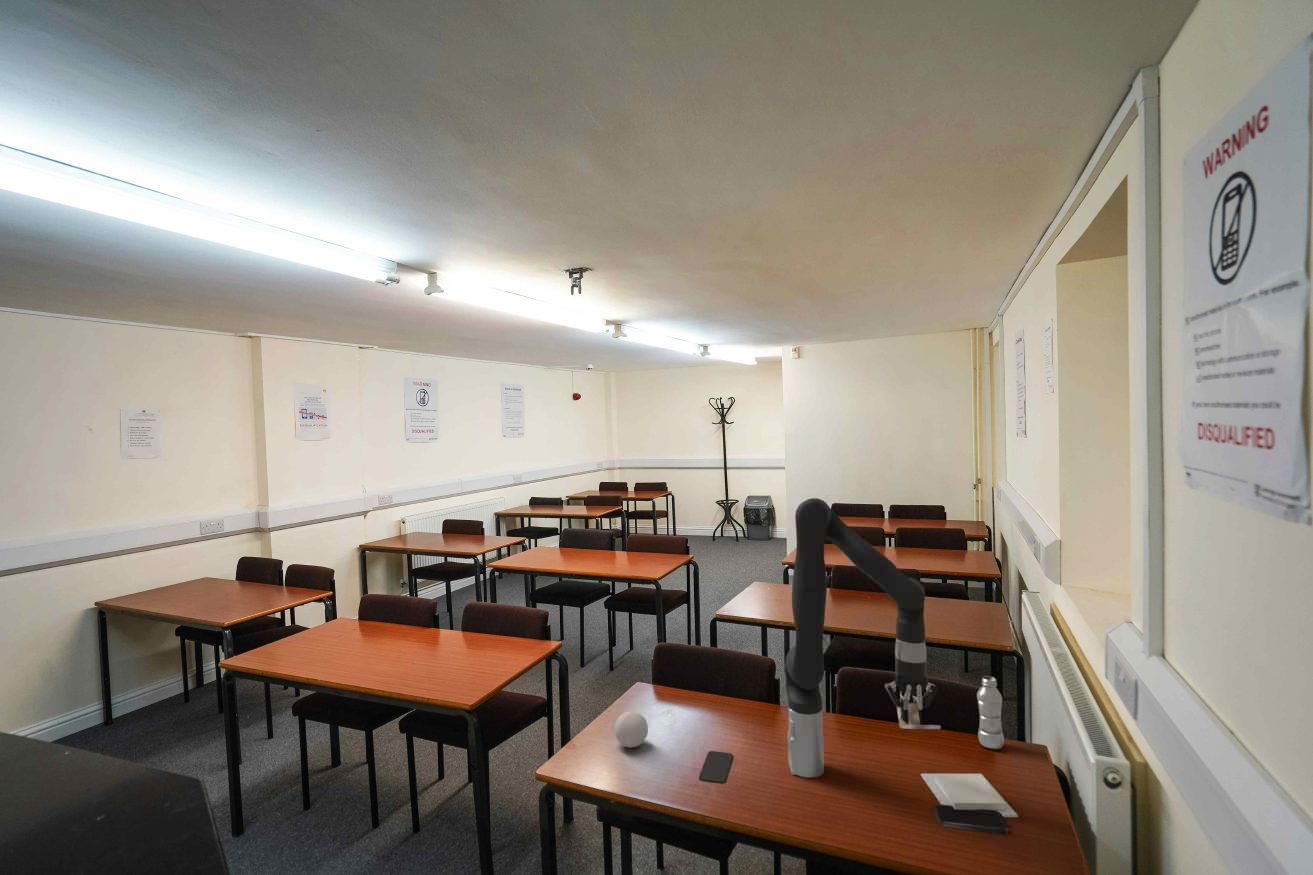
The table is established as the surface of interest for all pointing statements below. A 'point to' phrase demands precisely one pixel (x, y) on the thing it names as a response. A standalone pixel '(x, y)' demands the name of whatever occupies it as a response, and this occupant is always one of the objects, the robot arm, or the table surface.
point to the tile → (969, 792)
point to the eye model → (631, 729)
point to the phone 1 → (716, 767)
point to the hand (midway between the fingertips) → (911, 721)
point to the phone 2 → (971, 819)
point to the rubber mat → (943, 800)
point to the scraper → (913, 719)
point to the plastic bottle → (990, 714)
